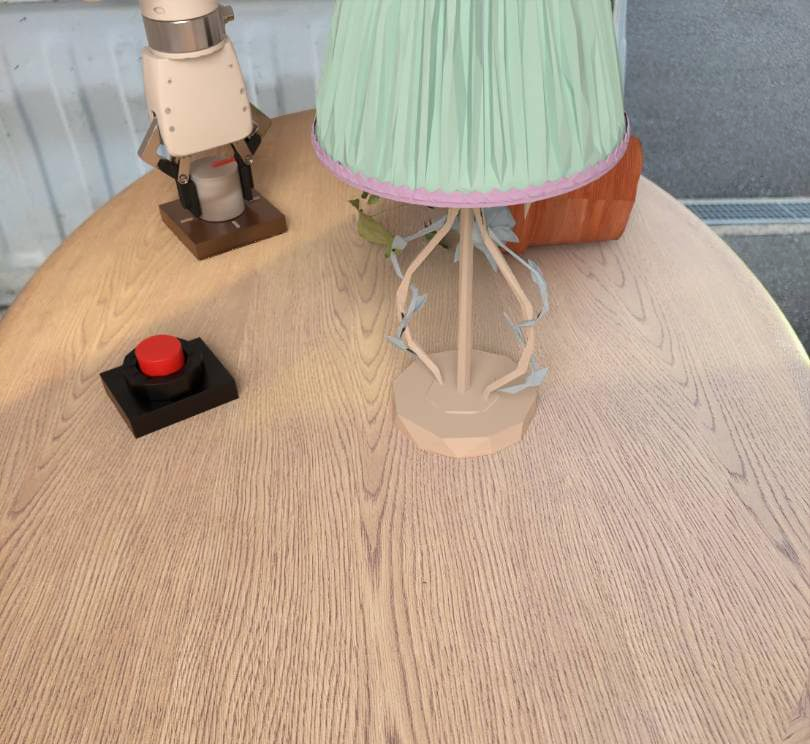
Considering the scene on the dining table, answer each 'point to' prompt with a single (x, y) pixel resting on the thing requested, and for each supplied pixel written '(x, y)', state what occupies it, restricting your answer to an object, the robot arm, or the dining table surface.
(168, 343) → the light button
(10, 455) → the dining table surface
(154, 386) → the switch block
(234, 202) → the dimmer knob
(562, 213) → the potted plant
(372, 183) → the table lamp
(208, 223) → the dimmer panel
